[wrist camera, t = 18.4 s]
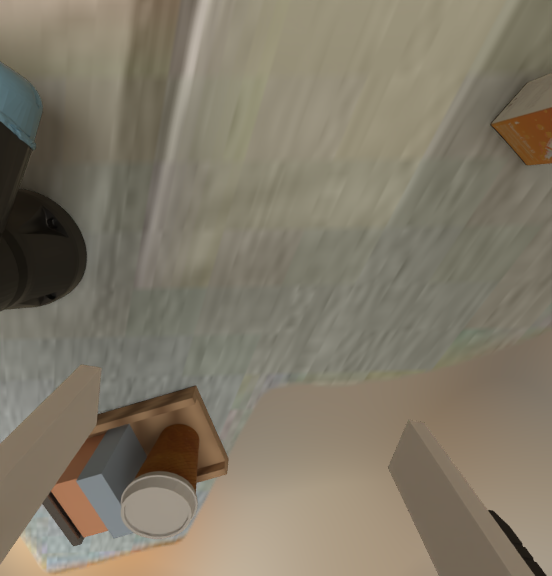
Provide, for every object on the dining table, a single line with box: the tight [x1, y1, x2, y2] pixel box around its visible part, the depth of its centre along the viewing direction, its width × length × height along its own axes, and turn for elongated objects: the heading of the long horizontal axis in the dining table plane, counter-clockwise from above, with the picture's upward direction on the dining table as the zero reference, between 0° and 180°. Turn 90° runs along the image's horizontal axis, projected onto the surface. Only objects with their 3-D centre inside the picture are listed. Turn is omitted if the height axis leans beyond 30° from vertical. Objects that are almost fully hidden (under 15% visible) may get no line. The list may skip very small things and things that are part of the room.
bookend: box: [42, 491, 85, 546], centre depth 46 cm, size 2×11×8 cm, turn 17°
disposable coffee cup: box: [121, 424, 199, 539], centre depth 44 cm, size 10×10×12 cm
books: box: [51, 424, 147, 538], centre depth 46 cm, size 8×11×9 cm
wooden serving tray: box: [87, 386, 228, 483], centre depth 50 cm, size 22×15×3 cm
